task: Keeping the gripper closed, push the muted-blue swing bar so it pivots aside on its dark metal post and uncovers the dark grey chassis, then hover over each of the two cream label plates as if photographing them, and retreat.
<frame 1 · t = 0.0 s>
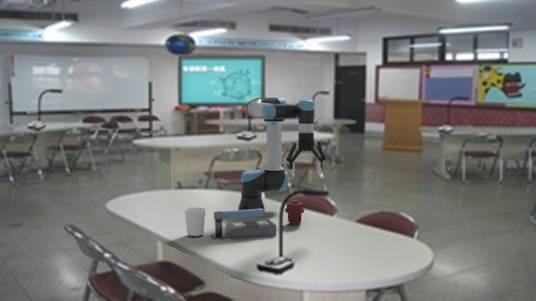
hand: (305, 175, 266), 28 cm above the table, fingers open, 13 cm apart
mechanical component: (294, 224, 282), on the table
chassis: (250, 234, 264), on the table
pivot post: (218, 237, 259), on the table
cup: (195, 235, 262), on the table
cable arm: (238, 213, 260), point 11 cm above the table, hinge at 0.0°
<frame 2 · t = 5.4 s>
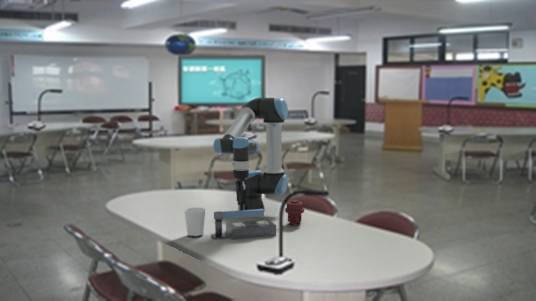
hand: (241, 217, 264), 8 cm above the table, fingers closed
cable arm: (238, 214, 260), point 11 cm above the table, hinge at 2.6°, touching gripper
everything else where it was.
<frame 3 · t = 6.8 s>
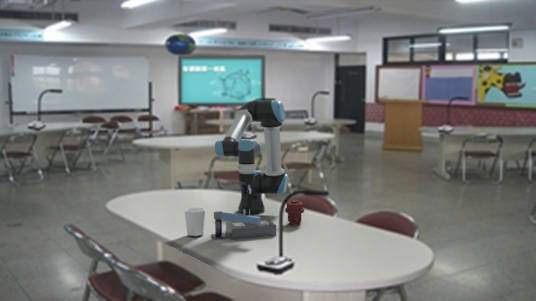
hand: (246, 222, 254), 8 cm above the table, fingers closed
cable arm: (236, 217, 253), point 11 cm above the table, hinge at 45.4°, touching gripper
everything else where it was.
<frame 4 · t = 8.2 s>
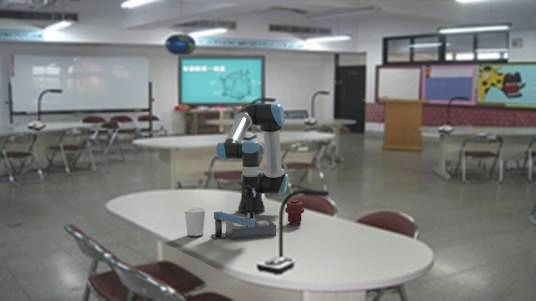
hand: (251, 225, 249), 8 cm above the table, fingers closed
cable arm: (233, 218, 251), point 11 cm above the table, hinge at 57.8°, touching gripper
everything else where it was.
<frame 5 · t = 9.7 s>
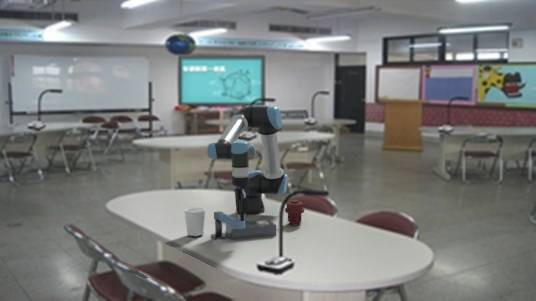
hand: (241, 227, 245), 8 cm above the table, fingers closed
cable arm: (228, 219, 249), point 11 cm above the table, hinge at 75.7°, touching gripper
everything else where it was.
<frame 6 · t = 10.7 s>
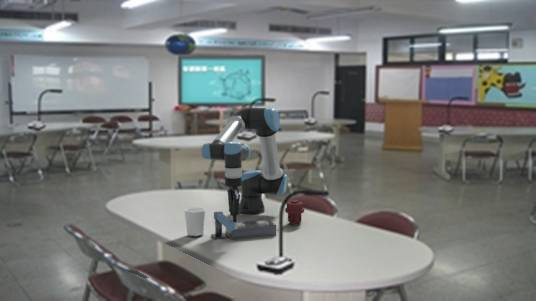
hand: (234, 228, 243), 8 cm above the table, fingers closed
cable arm: (224, 220, 248), point 11 cm above the table, hinge at 87.7°, touching gripper
everything else where it was.
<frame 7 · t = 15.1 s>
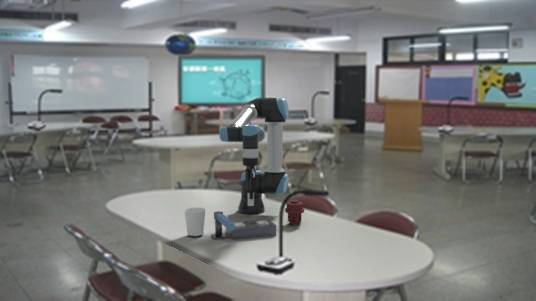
hand: (250, 205, 262), 14 cm above the table, fingers closed
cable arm: (224, 220, 248), point 11 cm above the table, hinge at 87.8°
everything else where it was.
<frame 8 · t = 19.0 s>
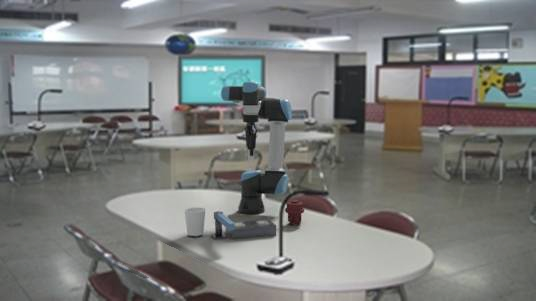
hand: (250, 162, 266), 34 cm above the table, fingers closed
nothing on the table moved.
at the end: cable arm at +88° (first picture: +0°) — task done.
